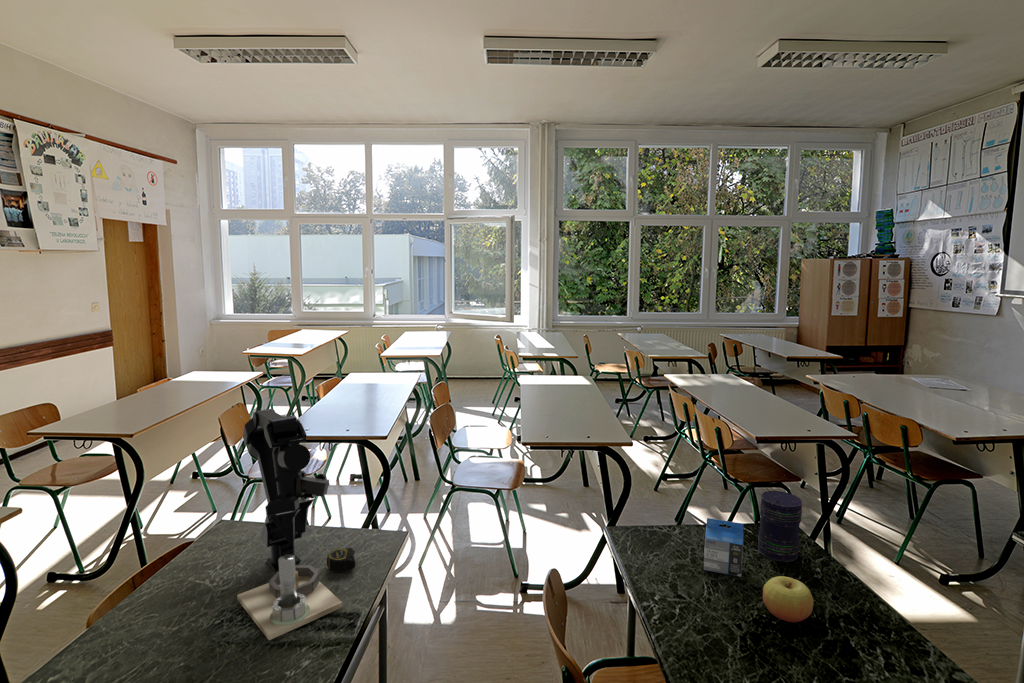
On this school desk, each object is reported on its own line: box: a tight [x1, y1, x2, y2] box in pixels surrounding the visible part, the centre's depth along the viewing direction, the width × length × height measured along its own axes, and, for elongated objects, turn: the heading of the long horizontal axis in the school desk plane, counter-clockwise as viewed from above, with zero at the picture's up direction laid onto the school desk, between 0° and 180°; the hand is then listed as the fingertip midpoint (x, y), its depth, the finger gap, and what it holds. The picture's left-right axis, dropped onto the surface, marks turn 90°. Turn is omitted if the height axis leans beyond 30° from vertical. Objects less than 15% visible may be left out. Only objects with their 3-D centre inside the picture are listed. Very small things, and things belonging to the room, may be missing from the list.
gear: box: [272, 554, 306, 623], centre depth 120 cm, size 6×6×12 cm
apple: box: [762, 575, 815, 623], centre depth 122 cm, size 10×10×8 cm
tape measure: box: [326, 547, 356, 573], centre depth 141 cm, size 7×7×4 cm
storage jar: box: [757, 490, 803, 563], centre depth 148 cm, size 10×10×15 cm
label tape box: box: [703, 517, 744, 578], centre depth 139 cm, size 9×4×12 cm, turn 68°
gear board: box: [236, 564, 343, 641], centre depth 126 cm, size 19×16×4 cm
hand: (297, 537), depth 130 cm, fingers open, 9 cm apart
